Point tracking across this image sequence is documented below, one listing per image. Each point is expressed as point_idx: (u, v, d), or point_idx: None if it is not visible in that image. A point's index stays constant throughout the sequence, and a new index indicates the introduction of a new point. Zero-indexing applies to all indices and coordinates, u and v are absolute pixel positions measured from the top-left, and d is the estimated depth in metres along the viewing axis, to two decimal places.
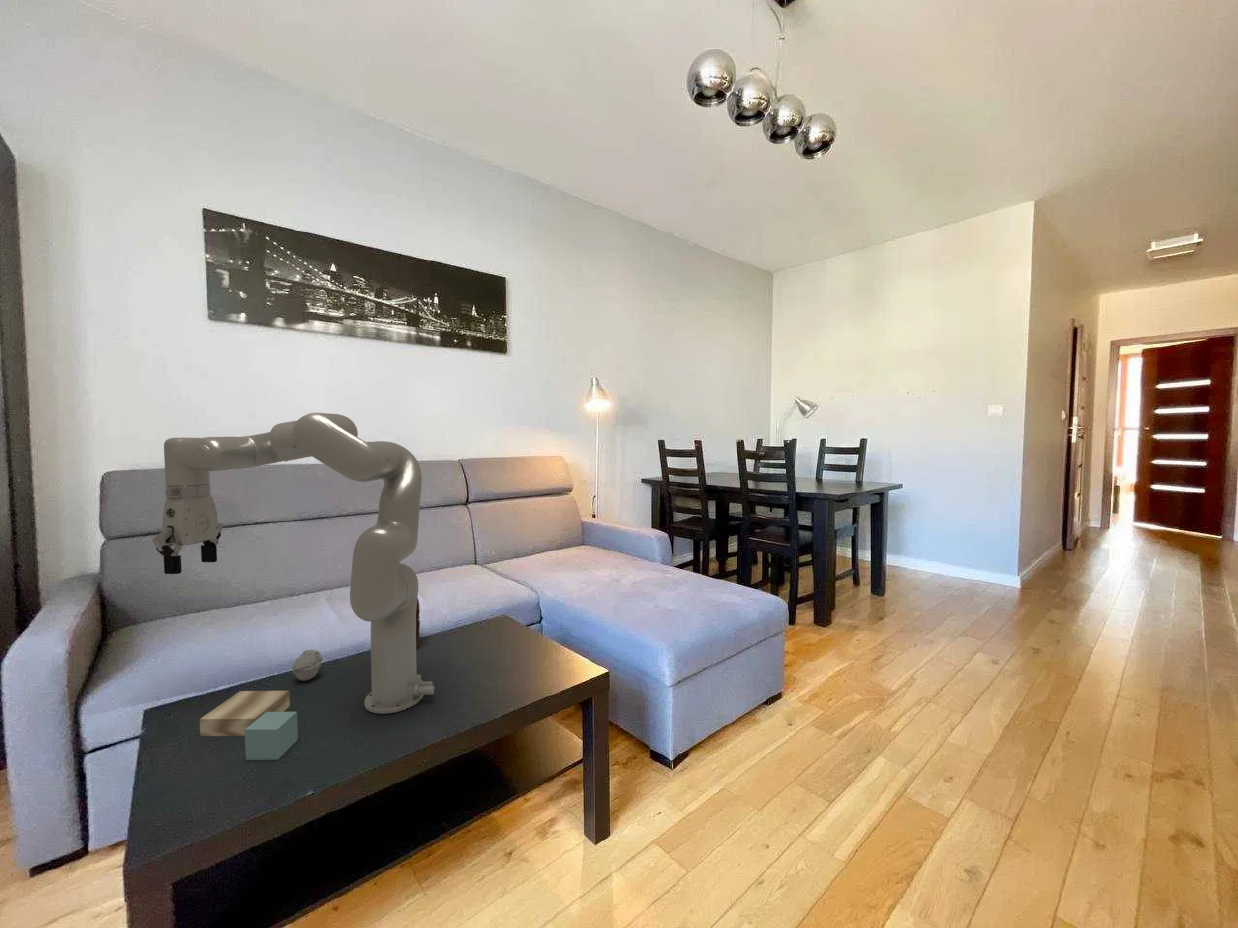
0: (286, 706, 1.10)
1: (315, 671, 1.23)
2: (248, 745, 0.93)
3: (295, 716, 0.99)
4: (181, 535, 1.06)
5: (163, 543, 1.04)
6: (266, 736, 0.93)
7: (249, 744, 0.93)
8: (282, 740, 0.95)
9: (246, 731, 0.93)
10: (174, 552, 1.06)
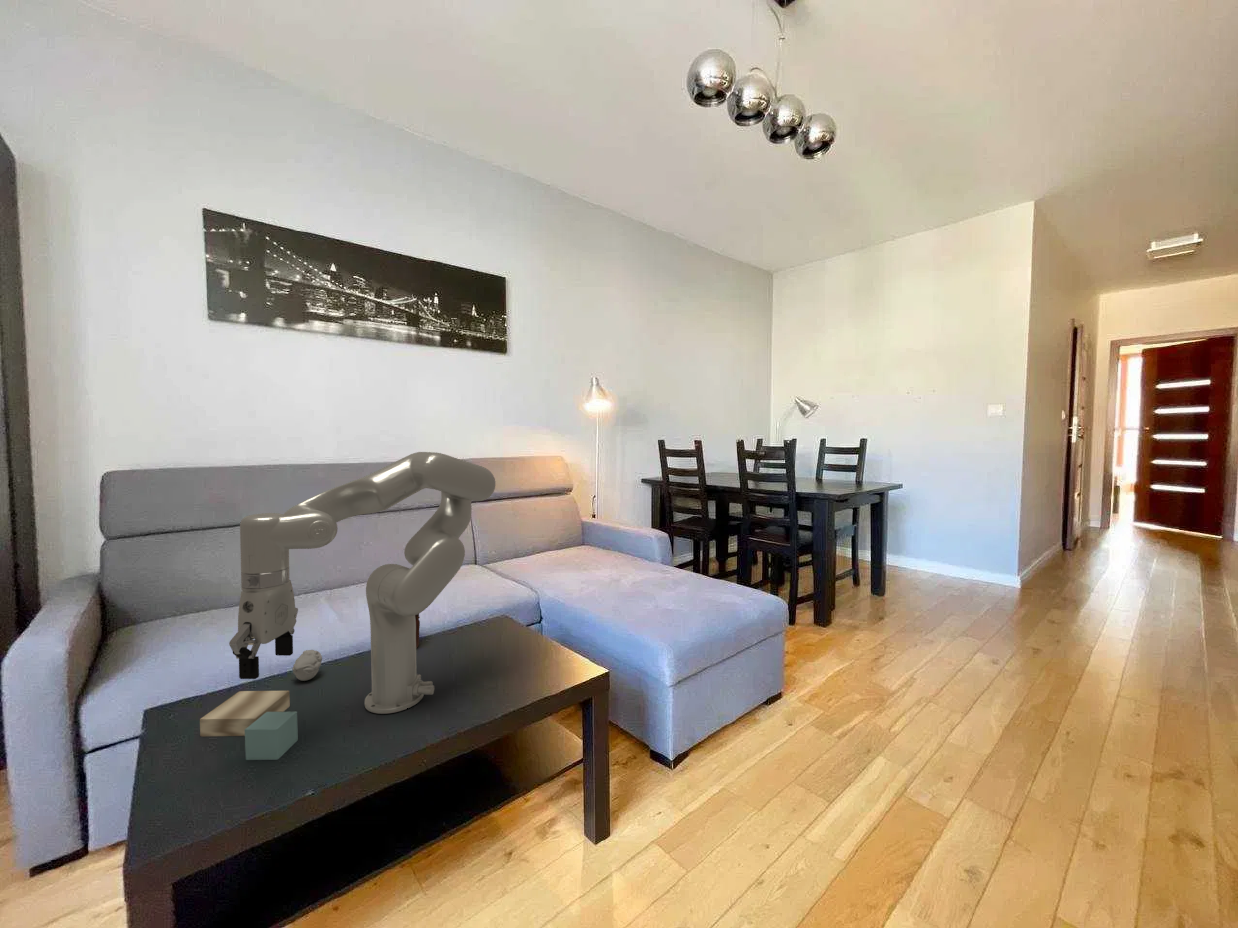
0: (286, 706, 1.10)
1: (315, 671, 1.23)
2: (248, 745, 0.93)
3: (295, 716, 0.99)
4: (260, 633, 0.90)
5: (240, 645, 0.87)
6: (266, 736, 0.93)
7: (249, 744, 0.93)
8: (282, 740, 0.95)
9: (246, 731, 0.93)
10: (252, 654, 0.89)
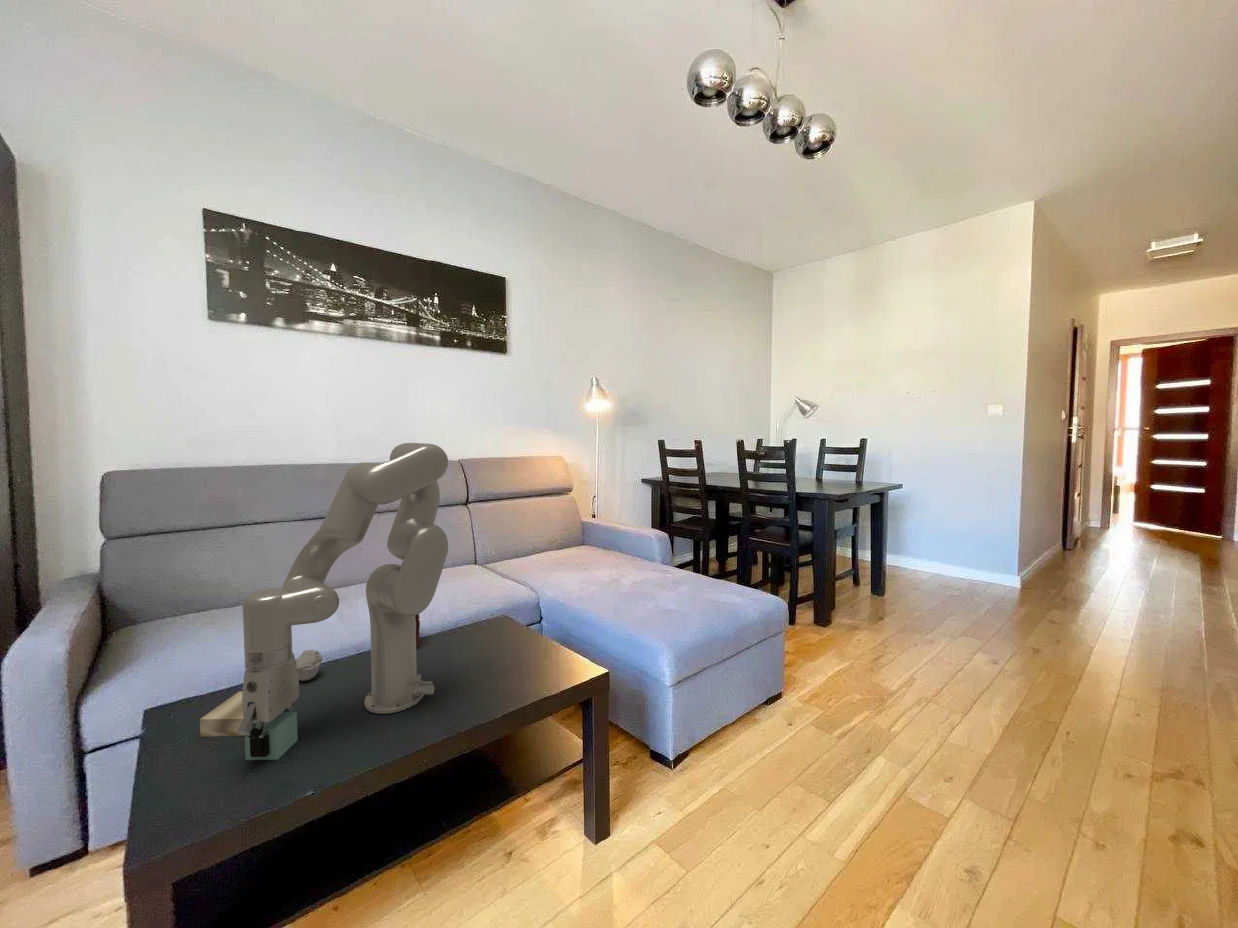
0: None
1: (315, 671, 1.23)
2: (248, 745, 0.93)
3: (295, 715, 0.99)
4: (264, 712, 0.91)
5: (250, 729, 0.89)
6: None
7: (249, 744, 0.93)
8: (282, 740, 0.95)
9: None
10: (262, 734, 0.92)
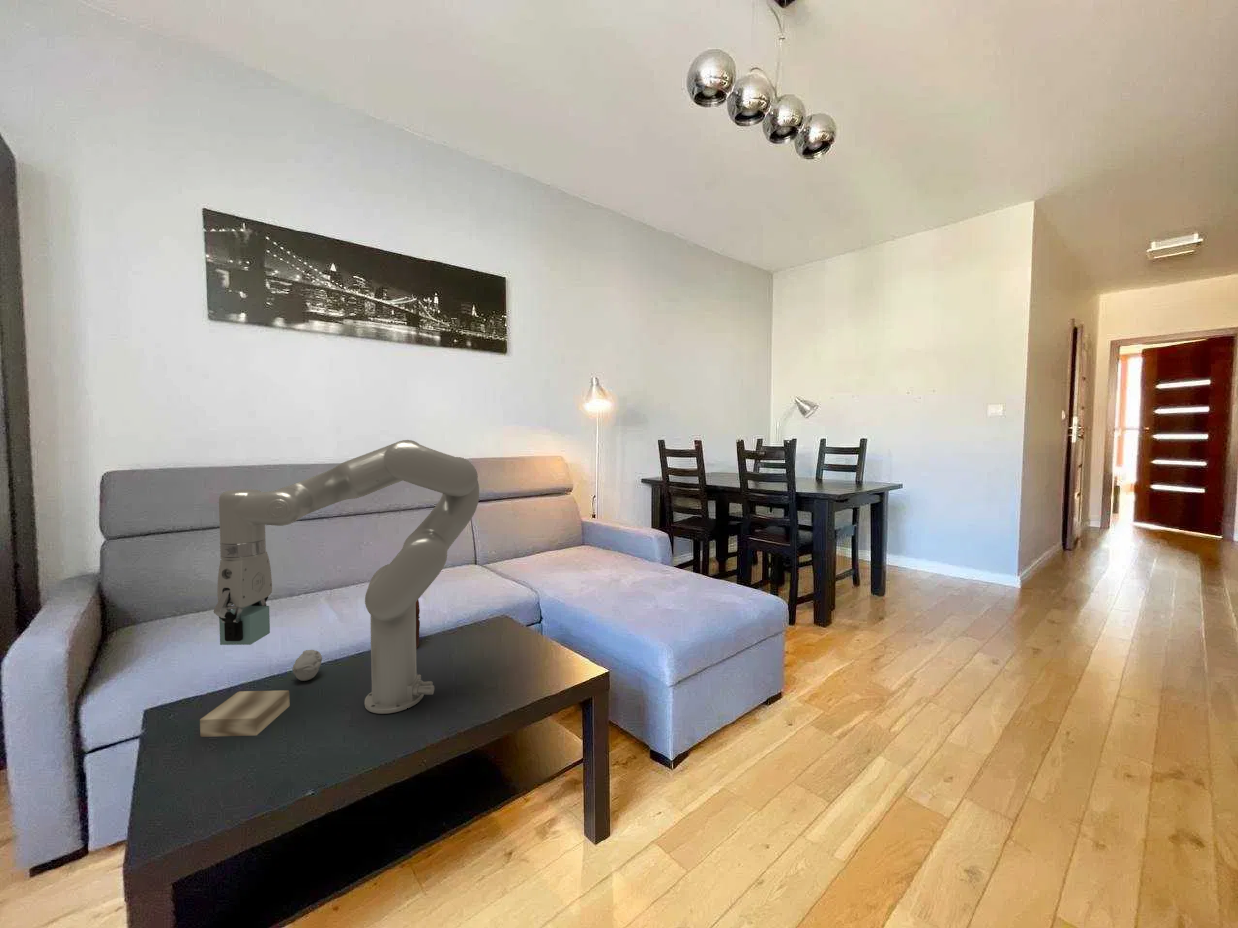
0: (286, 706, 1.11)
1: (315, 671, 1.23)
2: (222, 630, 1.00)
3: (267, 609, 1.06)
4: (238, 598, 0.98)
5: (224, 611, 0.97)
6: None
7: (224, 630, 1.00)
8: (254, 628, 1.02)
9: None
10: (236, 619, 0.99)
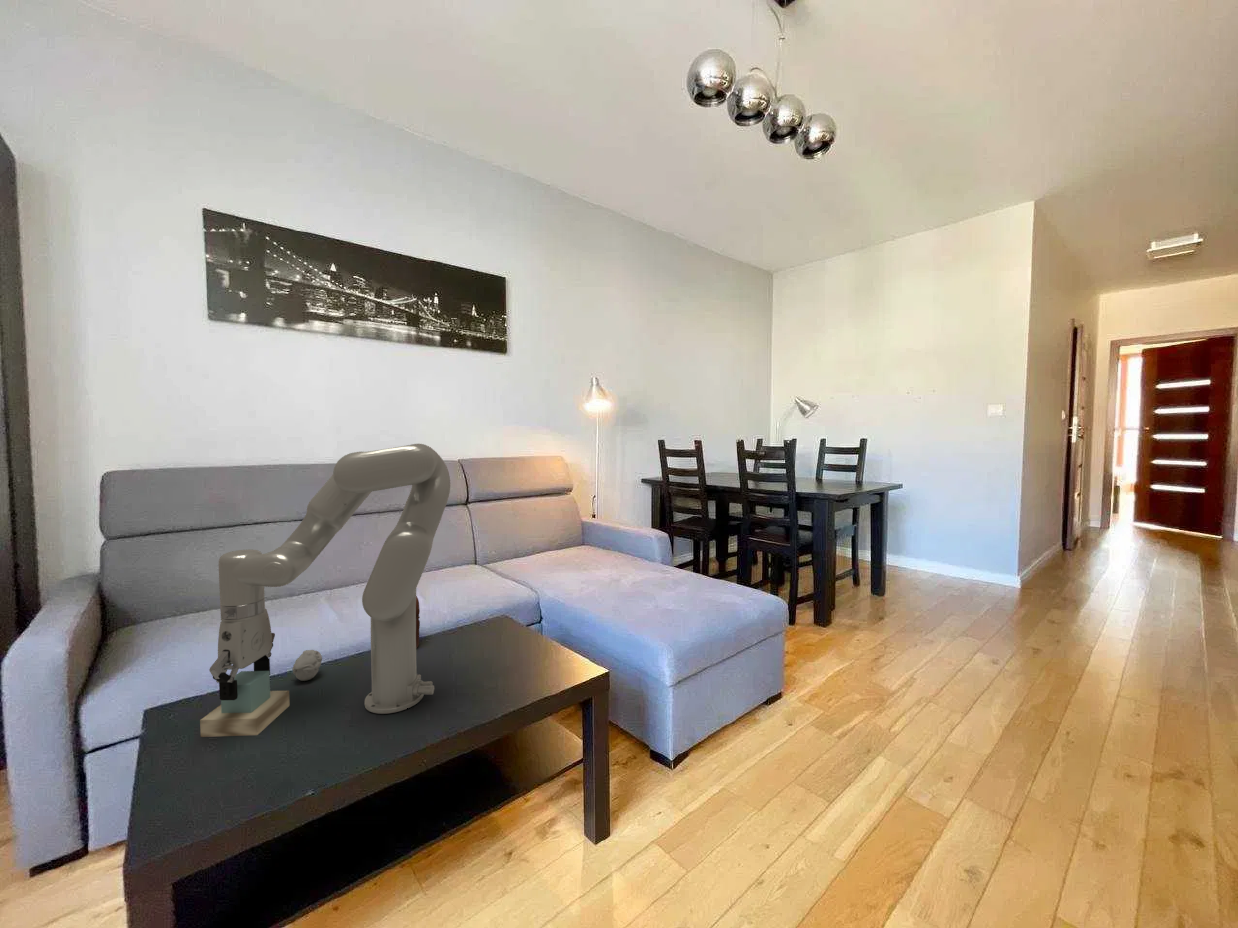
0: (286, 706, 1.11)
1: (315, 671, 1.23)
2: None
3: (268, 674, 1.08)
4: (238, 659, 1.00)
5: (220, 671, 0.98)
6: (240, 691, 1.02)
7: None
8: (255, 695, 1.04)
9: None
10: (230, 678, 1.00)
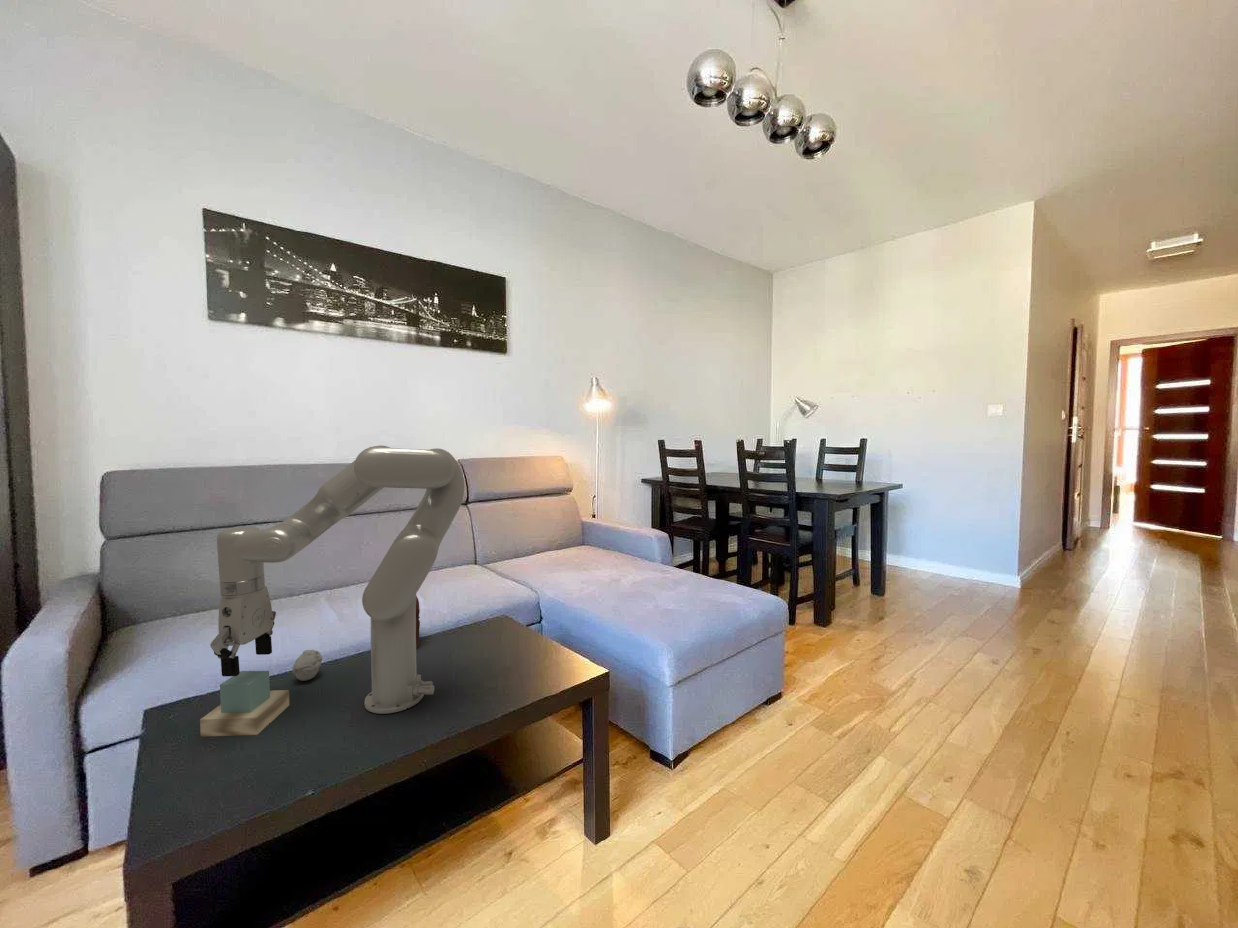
0: (286, 705, 1.11)
1: (315, 671, 1.23)
2: (223, 699, 1.02)
3: (267, 674, 1.08)
4: (239, 635, 1.00)
5: (221, 646, 0.97)
6: (239, 690, 1.02)
7: (224, 698, 1.02)
8: (254, 695, 1.04)
9: (221, 686, 1.02)
10: (232, 654, 0.99)
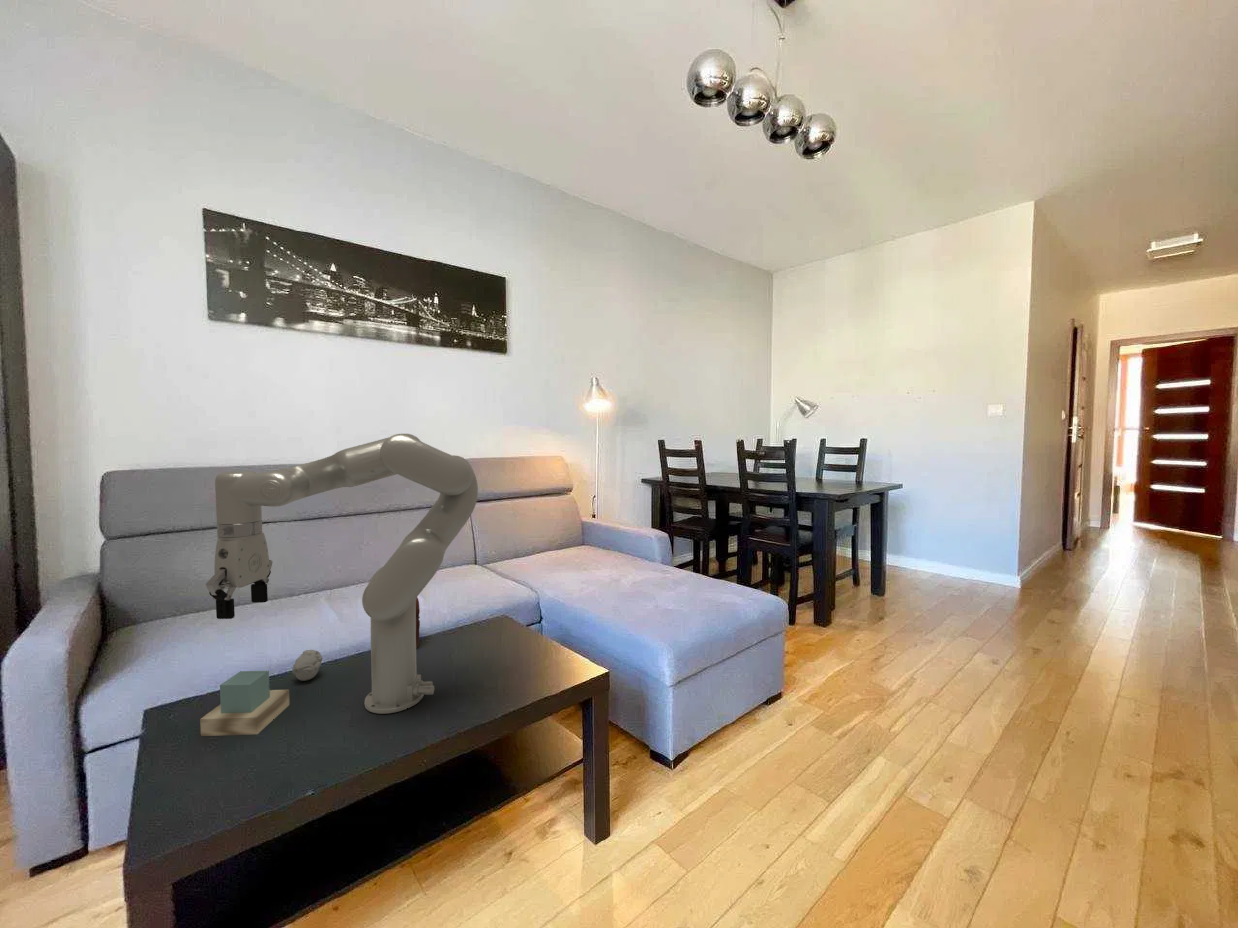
0: (286, 705, 1.11)
1: (315, 671, 1.23)
2: (223, 699, 1.02)
3: (267, 674, 1.08)
4: (234, 577, 0.99)
5: (216, 587, 0.97)
6: (240, 691, 1.02)
7: (224, 698, 1.02)
8: (254, 695, 1.04)
9: (221, 686, 1.02)
10: (227, 596, 0.99)
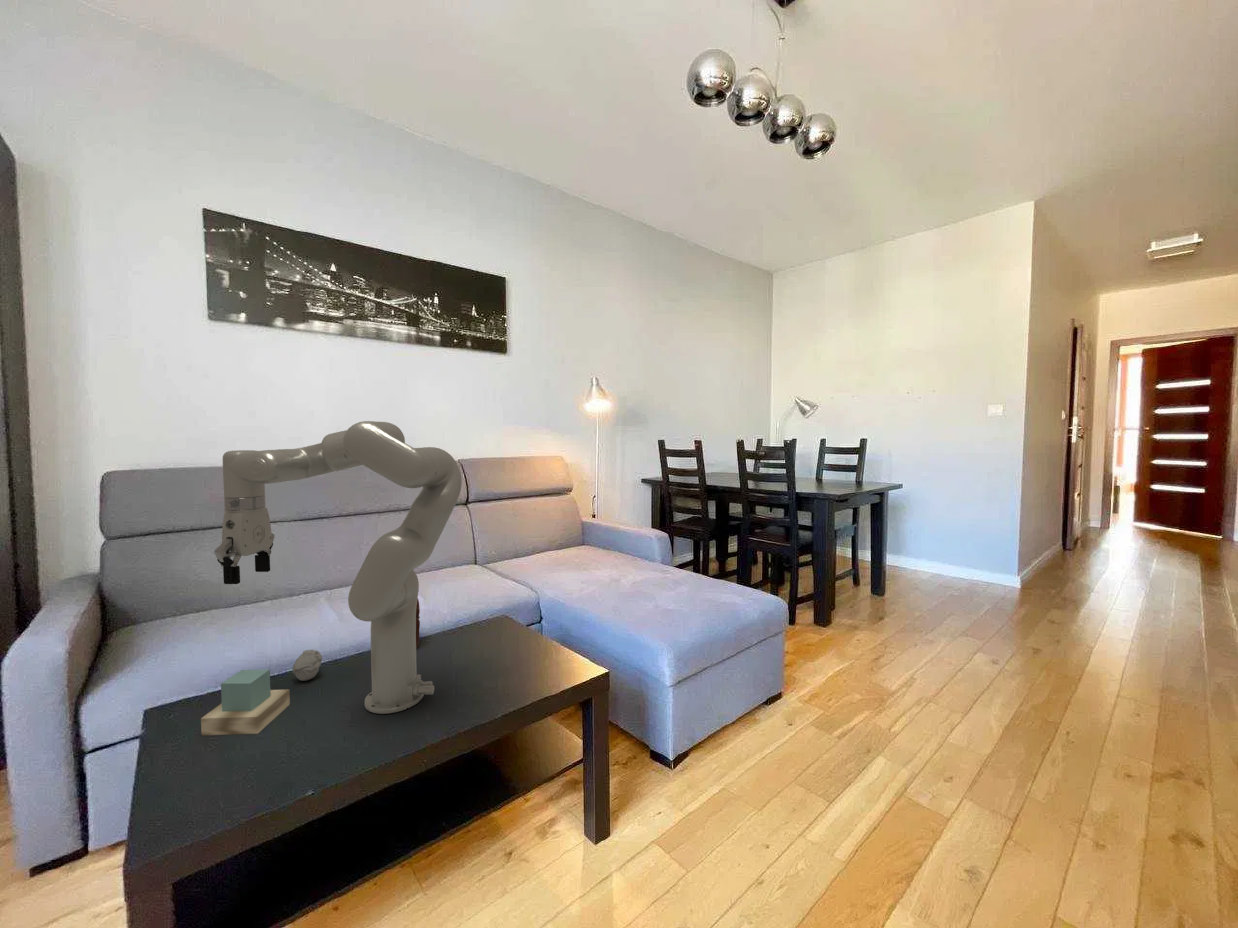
0: (286, 705, 1.11)
1: (315, 671, 1.23)
2: (224, 697, 1.03)
3: (268, 673, 1.08)
4: (240, 546, 1.09)
5: (224, 554, 1.06)
6: (240, 689, 1.03)
7: (225, 697, 1.03)
8: (255, 694, 1.04)
9: (222, 685, 1.03)
10: (234, 563, 1.08)
